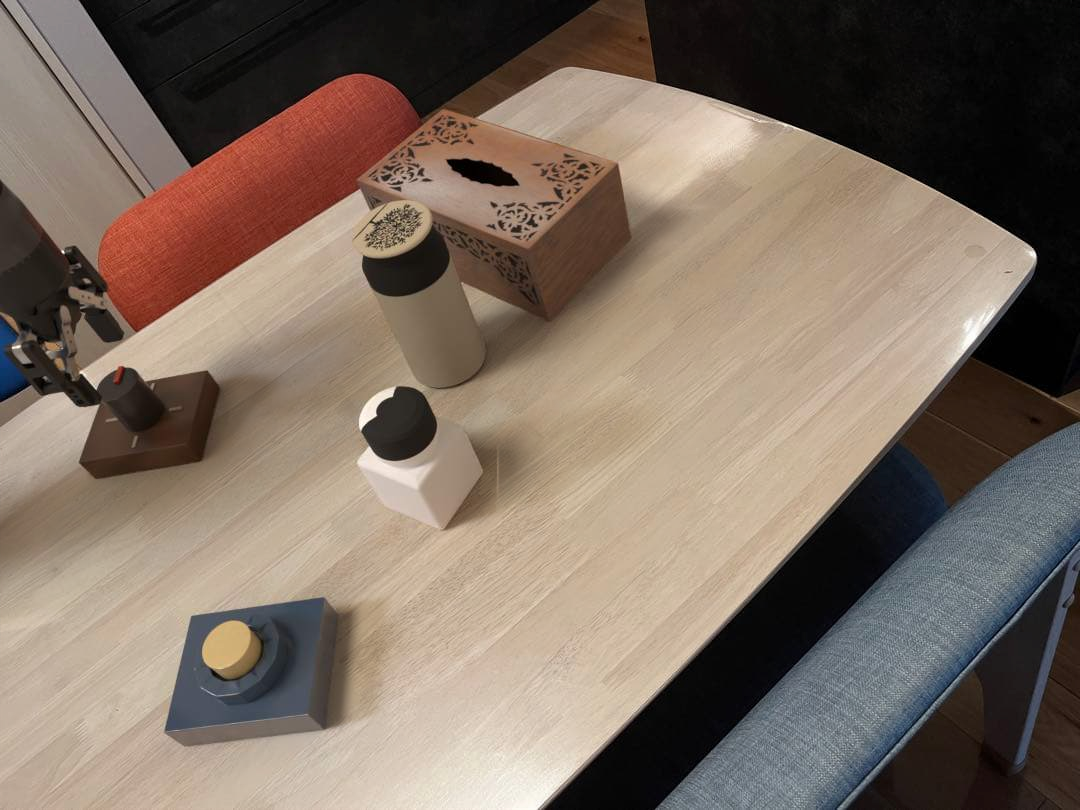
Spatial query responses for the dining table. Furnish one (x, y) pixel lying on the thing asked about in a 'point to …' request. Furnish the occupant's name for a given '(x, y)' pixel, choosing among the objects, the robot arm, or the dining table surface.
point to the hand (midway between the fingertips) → (104, 370)
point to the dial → (130, 399)
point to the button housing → (257, 676)
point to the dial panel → (155, 430)
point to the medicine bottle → (416, 457)
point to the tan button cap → (232, 649)
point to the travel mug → (420, 292)
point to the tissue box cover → (508, 207)
